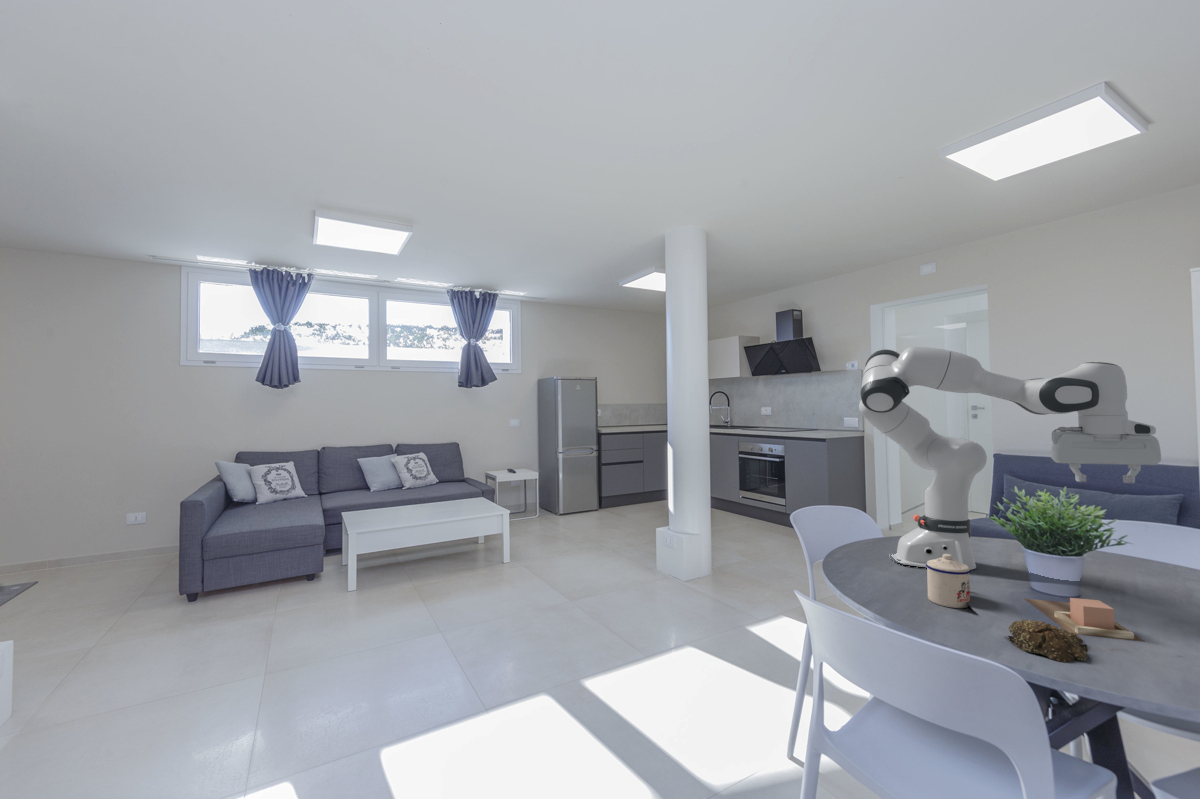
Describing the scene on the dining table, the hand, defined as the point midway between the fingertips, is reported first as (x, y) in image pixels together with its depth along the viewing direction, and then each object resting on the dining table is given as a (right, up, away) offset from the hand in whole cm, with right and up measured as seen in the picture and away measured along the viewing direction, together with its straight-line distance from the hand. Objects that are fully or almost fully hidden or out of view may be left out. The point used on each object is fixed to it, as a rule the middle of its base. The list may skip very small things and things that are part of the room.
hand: (1104, 482), depth 126 cm
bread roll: (-36, -30, -25) cm, 53 cm away
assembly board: (-20, -29, -15) cm, 38 cm away
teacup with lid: (-39, -30, 0) cm, 49 cm away
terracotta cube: (-22, -27, -19) cm, 40 cm away
